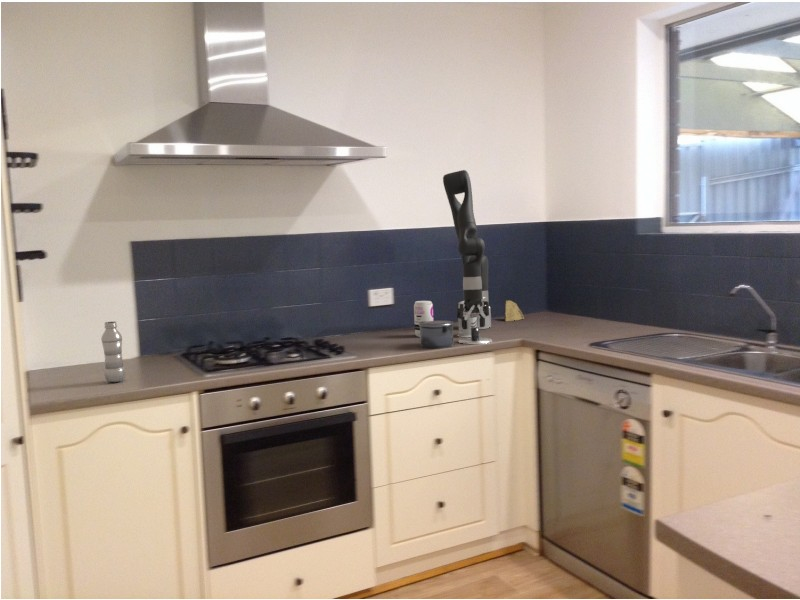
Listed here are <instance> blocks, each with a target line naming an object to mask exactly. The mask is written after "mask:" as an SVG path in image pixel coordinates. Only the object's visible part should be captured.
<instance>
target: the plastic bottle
mask: <svg viewBox="0 0 800 600" xmlns="http://www.w3.org/2000/svg"><path fill="white" fill-rule="evenodd" d="M117 327H118V325H117V321H106V322H104V329H105V330H104V332H103V334H102V335H101V344H102V347H103V353H104V378H105V381H106V382H107V383H108V382H109V383H119V382H121V381H123V380H125V379H126V369H125V366H124V361H123V354H122V352H123V350H122V347H123V345H122V344H123V336H122V334H121V333H120V331H119V330H118V329H117Z"/></svg>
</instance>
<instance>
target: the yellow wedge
mask: <svg viewBox="0 0 800 600" xmlns="http://www.w3.org/2000/svg"><path fill="white" fill-rule="evenodd" d="M504 309H505V310H504V311H505V313H504V322H506V321H507V322H514V320H515V321H520V320H524V319H525V318H524V314H523V312H522V310H521V309H520V308H519V306H518V304H517V303H516V302H514V301H513V300H509V299H508V300H507V299H506V300H505V304H504Z"/></svg>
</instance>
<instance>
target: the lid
mask: <svg viewBox="0 0 800 600" xmlns="http://www.w3.org/2000/svg"><path fill="white" fill-rule="evenodd" d="M457 341H458V342H459V344H460V343H463V344H462V345H466V344H480V345H487V343H488V344H491V343H492V342H493V339H492V338H490V337H480V329H479V328H478V327H473V328H471V338H461V339H458V340H457ZM490 342H491V343H490Z"/></svg>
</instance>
